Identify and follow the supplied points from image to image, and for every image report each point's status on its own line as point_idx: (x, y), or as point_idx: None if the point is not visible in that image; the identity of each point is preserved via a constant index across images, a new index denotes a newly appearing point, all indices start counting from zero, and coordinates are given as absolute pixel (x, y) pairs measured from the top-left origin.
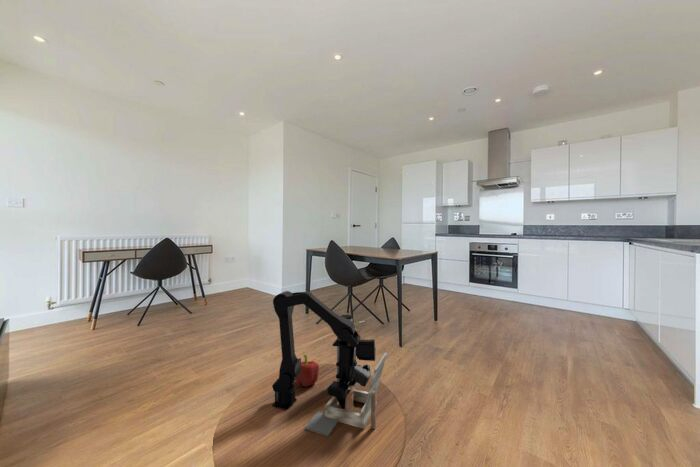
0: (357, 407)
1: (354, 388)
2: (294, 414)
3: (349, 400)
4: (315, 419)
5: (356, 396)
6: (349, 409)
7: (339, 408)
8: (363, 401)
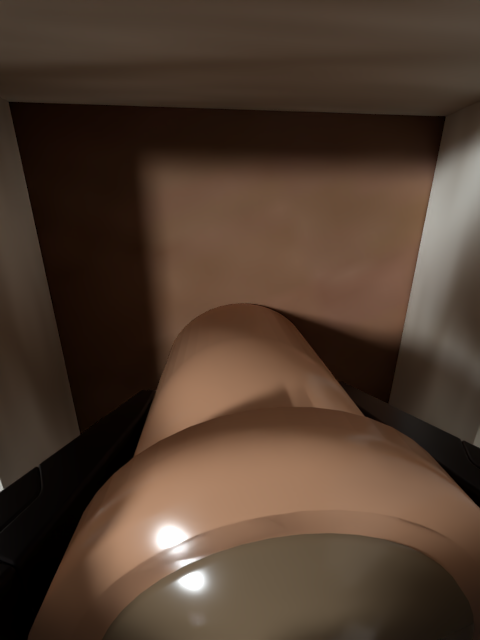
0: (159, 278)
1: (202, 496)
2: None
3: (340, 387)
4: None
5: (24, 352)
6: (297, 332)
7: (477, 428)
8: (29, 242)
